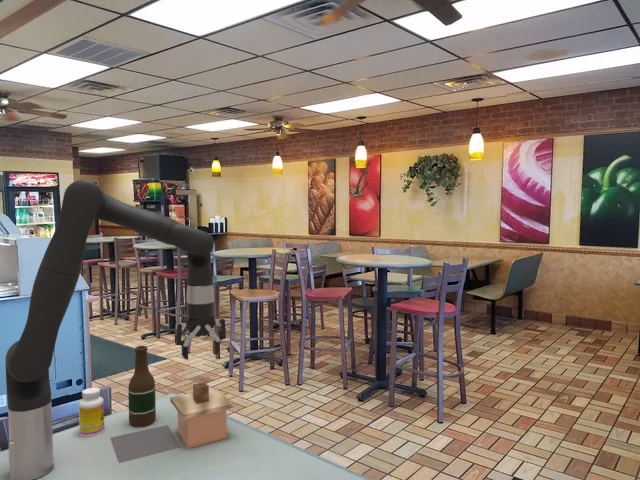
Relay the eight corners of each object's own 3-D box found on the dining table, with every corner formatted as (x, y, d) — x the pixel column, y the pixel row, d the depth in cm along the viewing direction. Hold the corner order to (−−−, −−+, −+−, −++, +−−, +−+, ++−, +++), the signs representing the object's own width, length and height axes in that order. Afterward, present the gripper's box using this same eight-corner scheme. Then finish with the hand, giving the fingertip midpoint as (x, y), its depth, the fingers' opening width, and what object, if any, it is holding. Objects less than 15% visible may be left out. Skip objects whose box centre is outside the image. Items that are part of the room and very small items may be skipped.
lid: (183, 419, 126) (183, 398, 126) (170, 401, 138) (170, 382, 138) (232, 407, 133) (232, 388, 133) (216, 391, 145) (216, 373, 145)
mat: (118, 464, 121) (118, 463, 121) (110, 439, 134) (110, 437, 134) (181, 448, 129) (181, 446, 129) (167, 426, 143) (167, 424, 143)
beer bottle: (123, 427, 142) (121, 349, 141) (140, 416, 150) (138, 342, 148) (145, 430, 140) (143, 351, 139) (161, 419, 147) (159, 344, 146)
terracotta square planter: (188, 449, 129) (187, 415, 128) (177, 433, 138) (177, 402, 137) (226, 439, 134) (226, 407, 134) (214, 424, 144) (213, 394, 143)
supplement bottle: (105, 435, 137) (103, 392, 136) (79, 440, 134) (78, 396, 133) (104, 426, 143) (102, 384, 142) (79, 430, 140) (78, 388, 139)
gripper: (178, 305, 127) (179, 364, 128) (228, 300, 134) (229, 356, 135) (171, 300, 133) (172, 356, 134) (220, 296, 141) (220, 349, 142)
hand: (201, 356), depth 135 cm, fingers open, 8 cm apart
